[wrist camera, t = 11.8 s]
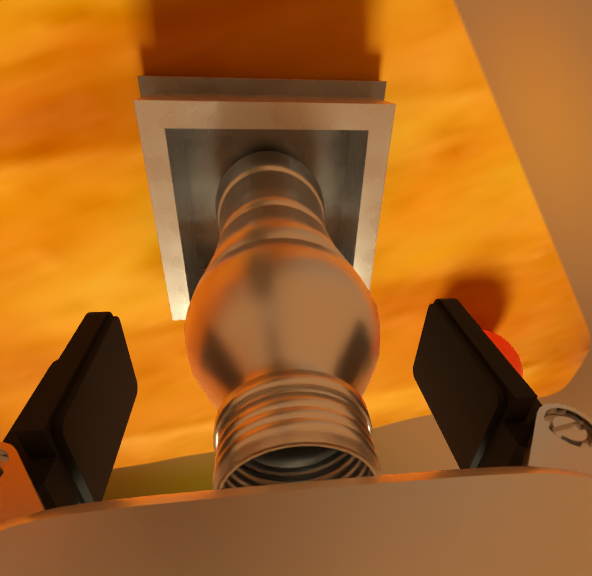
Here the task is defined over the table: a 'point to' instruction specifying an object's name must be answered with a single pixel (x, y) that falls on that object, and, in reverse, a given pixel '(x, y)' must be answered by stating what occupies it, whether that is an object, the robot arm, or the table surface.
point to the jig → (253, 138)
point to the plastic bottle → (282, 334)
